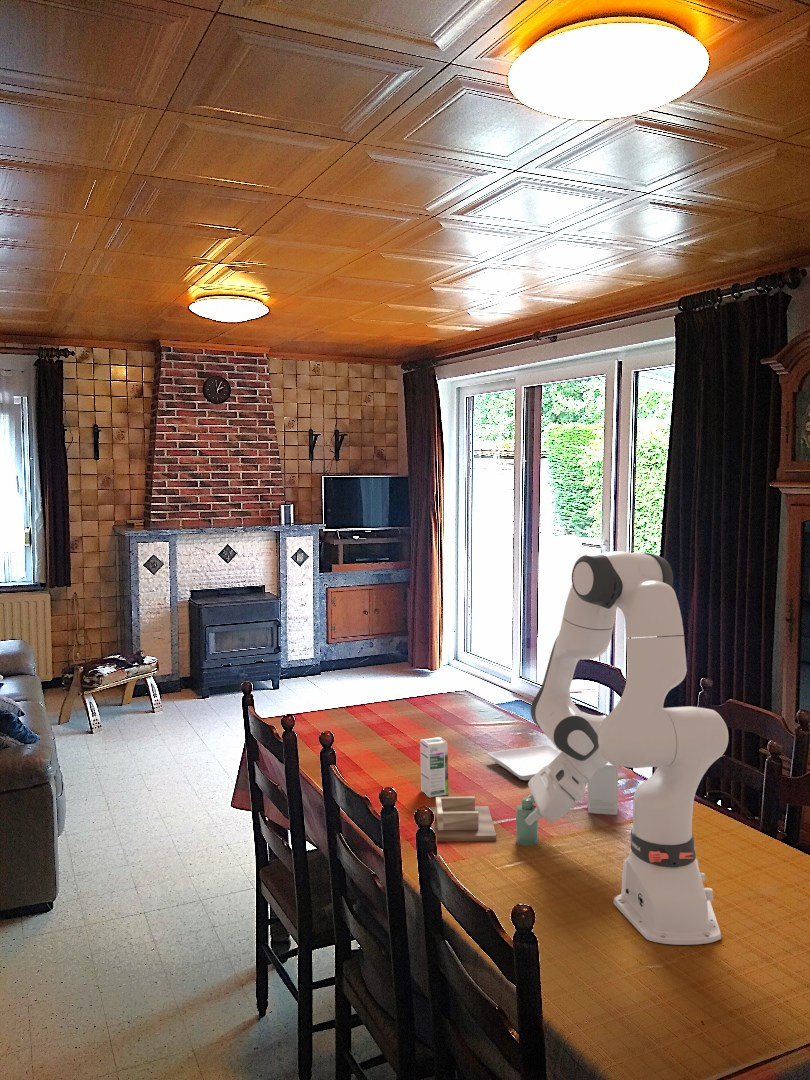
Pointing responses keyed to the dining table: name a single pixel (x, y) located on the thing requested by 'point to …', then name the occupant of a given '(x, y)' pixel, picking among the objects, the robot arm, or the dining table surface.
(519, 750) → the salad plate
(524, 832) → the green bottle
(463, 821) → the u rest
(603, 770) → the supplement box
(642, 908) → the robot arm
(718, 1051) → the dining table surface
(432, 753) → the syrup box
